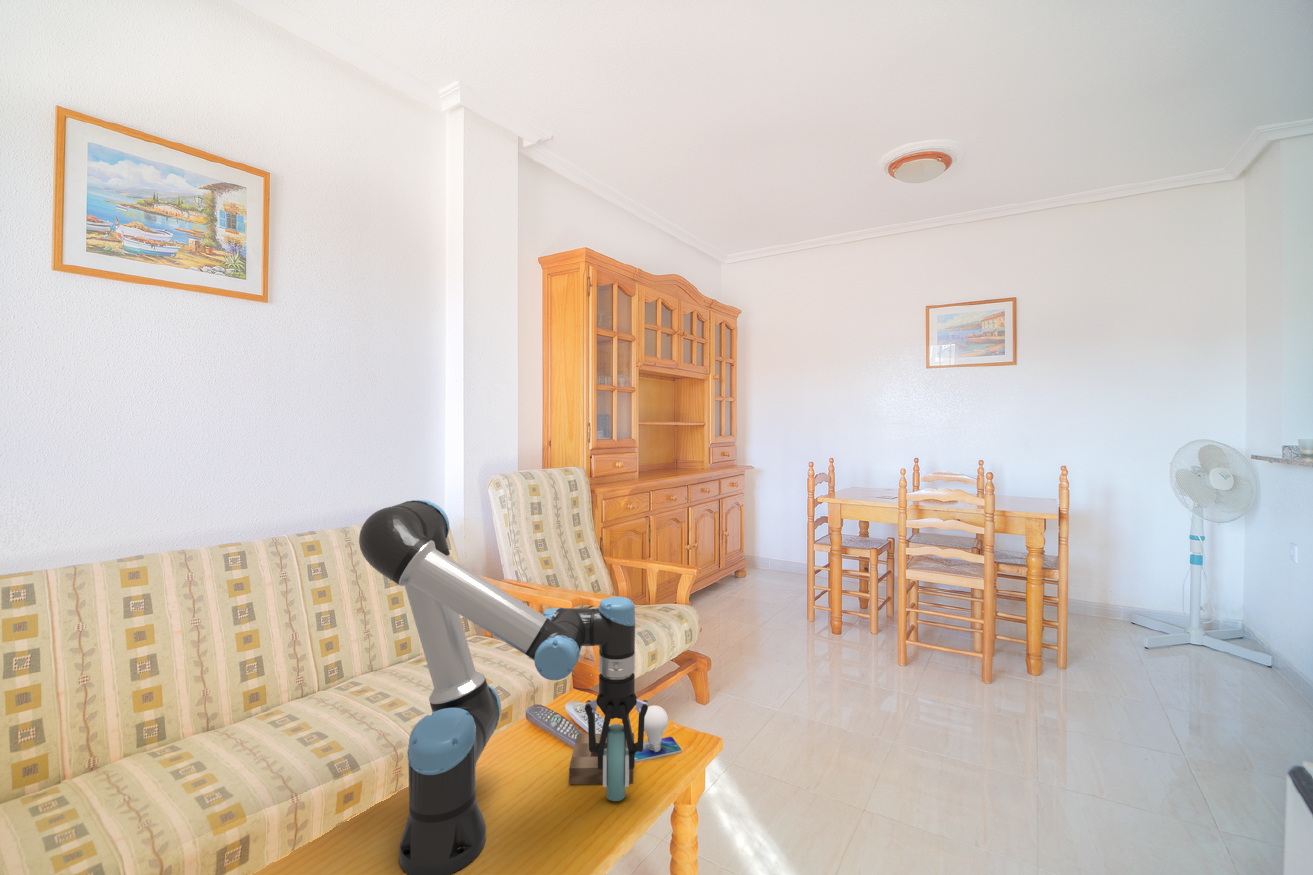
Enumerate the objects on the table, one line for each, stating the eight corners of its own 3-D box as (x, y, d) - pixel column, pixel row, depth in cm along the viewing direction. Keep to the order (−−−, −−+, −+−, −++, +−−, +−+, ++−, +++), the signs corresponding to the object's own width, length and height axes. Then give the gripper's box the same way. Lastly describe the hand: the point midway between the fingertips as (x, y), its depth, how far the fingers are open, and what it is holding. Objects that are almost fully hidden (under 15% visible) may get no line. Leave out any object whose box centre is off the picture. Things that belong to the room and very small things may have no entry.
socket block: (569, 784, 123) (569, 768, 123) (577, 748, 137) (577, 733, 137) (632, 783, 123) (632, 767, 123) (634, 747, 137) (634, 732, 137)
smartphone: (614, 747, 137) (672, 735, 142) (615, 750, 137) (672, 739, 142) (623, 763, 130) (682, 750, 135) (623, 766, 130) (682, 753, 135)
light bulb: (665, 761, 131) (665, 714, 131) (638, 758, 133) (637, 712, 132) (670, 745, 138) (670, 701, 138) (644, 742, 139) (644, 699, 139)
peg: (605, 801, 116) (606, 734, 116) (607, 788, 120) (607, 724, 120) (625, 801, 116) (625, 734, 116) (625, 788, 120) (626, 724, 120)
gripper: (574, 680, 114) (573, 794, 114) (657, 680, 114) (656, 794, 114) (578, 665, 121) (578, 771, 122) (656, 665, 122) (656, 771, 122)
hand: (616, 782), depth 118 cm, fingers closed on peg, 4 cm apart
